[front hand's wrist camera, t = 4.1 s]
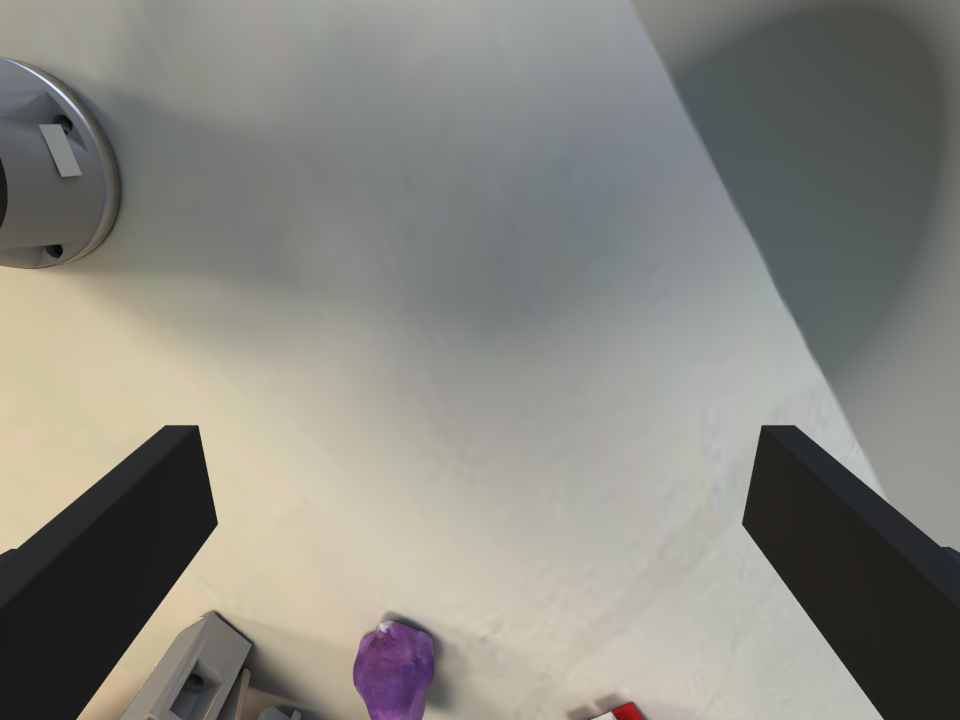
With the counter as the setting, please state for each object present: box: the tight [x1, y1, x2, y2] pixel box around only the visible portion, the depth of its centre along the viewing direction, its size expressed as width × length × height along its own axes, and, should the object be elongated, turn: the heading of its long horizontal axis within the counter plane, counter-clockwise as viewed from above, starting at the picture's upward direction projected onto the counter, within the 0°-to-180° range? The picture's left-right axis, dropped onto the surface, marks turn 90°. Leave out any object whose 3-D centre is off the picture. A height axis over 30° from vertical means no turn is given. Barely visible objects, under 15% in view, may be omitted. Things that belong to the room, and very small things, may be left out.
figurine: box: [353, 621, 434, 720], centre depth 52 cm, size 9×10×15 cm
